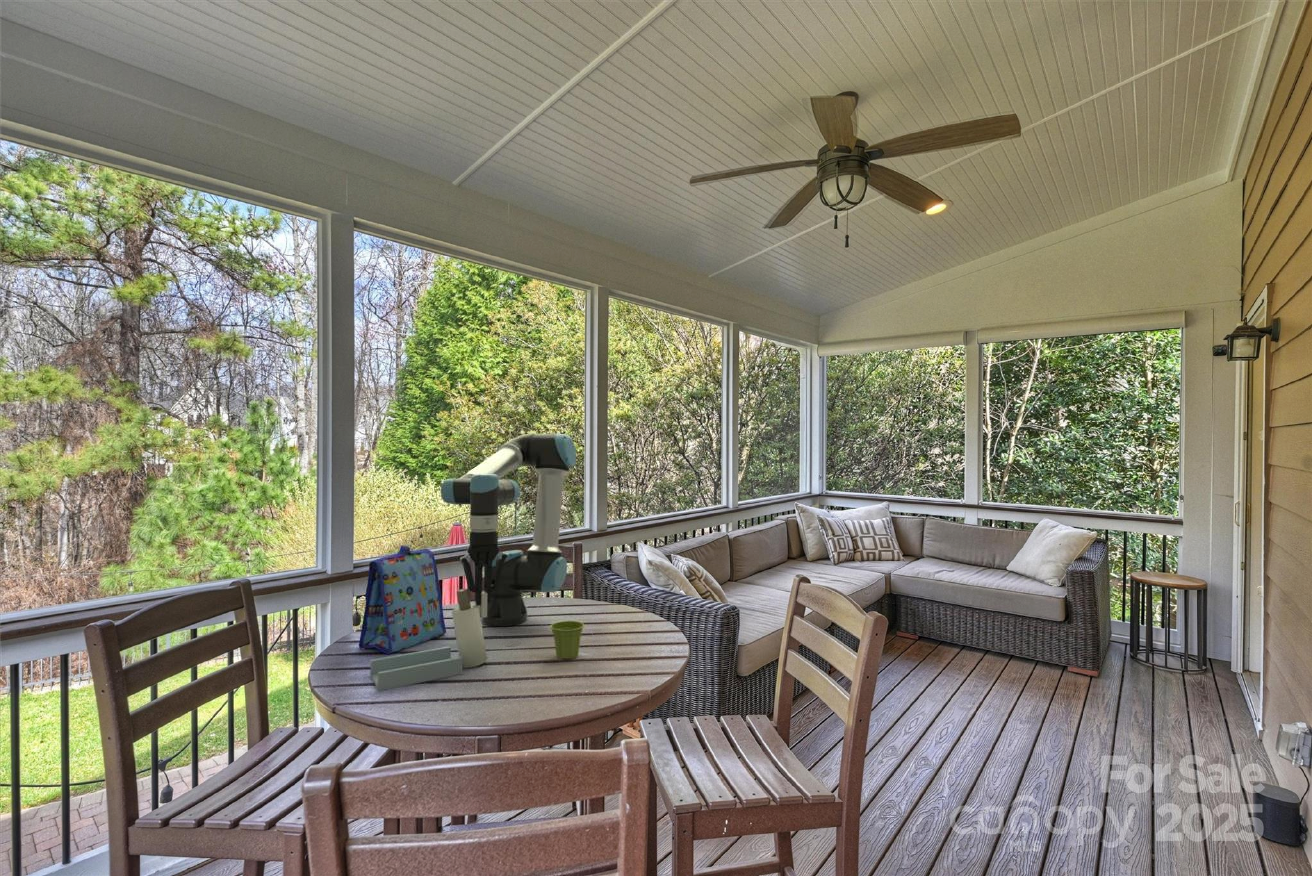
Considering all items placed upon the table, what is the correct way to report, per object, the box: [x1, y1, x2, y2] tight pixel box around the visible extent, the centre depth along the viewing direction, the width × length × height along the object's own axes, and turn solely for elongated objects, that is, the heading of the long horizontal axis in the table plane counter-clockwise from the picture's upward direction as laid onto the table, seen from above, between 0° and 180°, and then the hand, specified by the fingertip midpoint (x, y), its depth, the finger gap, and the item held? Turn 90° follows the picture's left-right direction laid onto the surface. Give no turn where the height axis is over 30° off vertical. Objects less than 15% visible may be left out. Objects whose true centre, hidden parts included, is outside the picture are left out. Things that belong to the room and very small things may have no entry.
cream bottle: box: [451, 588, 488, 669], centre depth 165 cm, size 7×7×20 cm
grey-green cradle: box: [369, 645, 463, 692], centre depth 157 cm, size 20×11×4 cm, turn 124°
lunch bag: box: [358, 544, 447, 655], centre depth 184 cm, size 22×14×29 cm, turn 154°
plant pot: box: [550, 620, 585, 660], centre depth 172 cm, size 9×9×9 cm
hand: (482, 616), depth 167 cm, fingers closed
